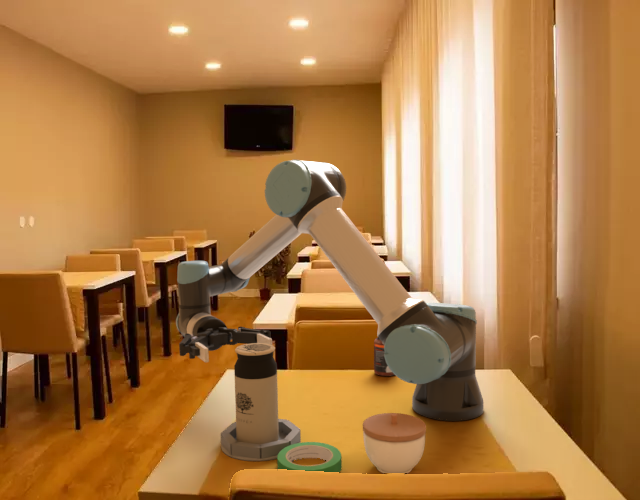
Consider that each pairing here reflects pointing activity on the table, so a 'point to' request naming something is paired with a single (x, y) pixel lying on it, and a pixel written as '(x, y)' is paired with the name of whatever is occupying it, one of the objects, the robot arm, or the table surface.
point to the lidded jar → (394, 441)
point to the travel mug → (256, 394)
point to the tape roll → (310, 451)
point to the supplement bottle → (380, 359)
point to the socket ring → (259, 451)
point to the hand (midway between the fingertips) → (239, 350)
